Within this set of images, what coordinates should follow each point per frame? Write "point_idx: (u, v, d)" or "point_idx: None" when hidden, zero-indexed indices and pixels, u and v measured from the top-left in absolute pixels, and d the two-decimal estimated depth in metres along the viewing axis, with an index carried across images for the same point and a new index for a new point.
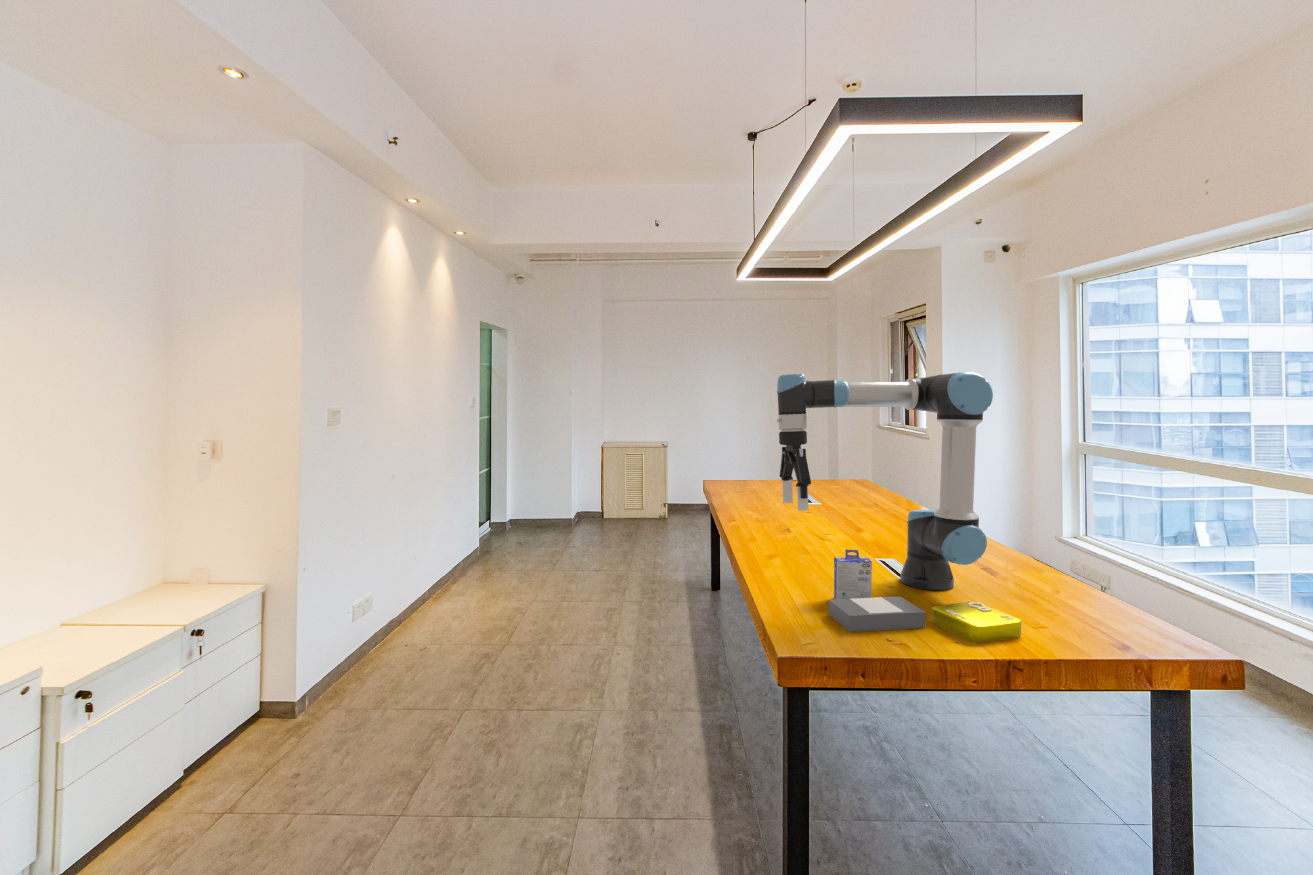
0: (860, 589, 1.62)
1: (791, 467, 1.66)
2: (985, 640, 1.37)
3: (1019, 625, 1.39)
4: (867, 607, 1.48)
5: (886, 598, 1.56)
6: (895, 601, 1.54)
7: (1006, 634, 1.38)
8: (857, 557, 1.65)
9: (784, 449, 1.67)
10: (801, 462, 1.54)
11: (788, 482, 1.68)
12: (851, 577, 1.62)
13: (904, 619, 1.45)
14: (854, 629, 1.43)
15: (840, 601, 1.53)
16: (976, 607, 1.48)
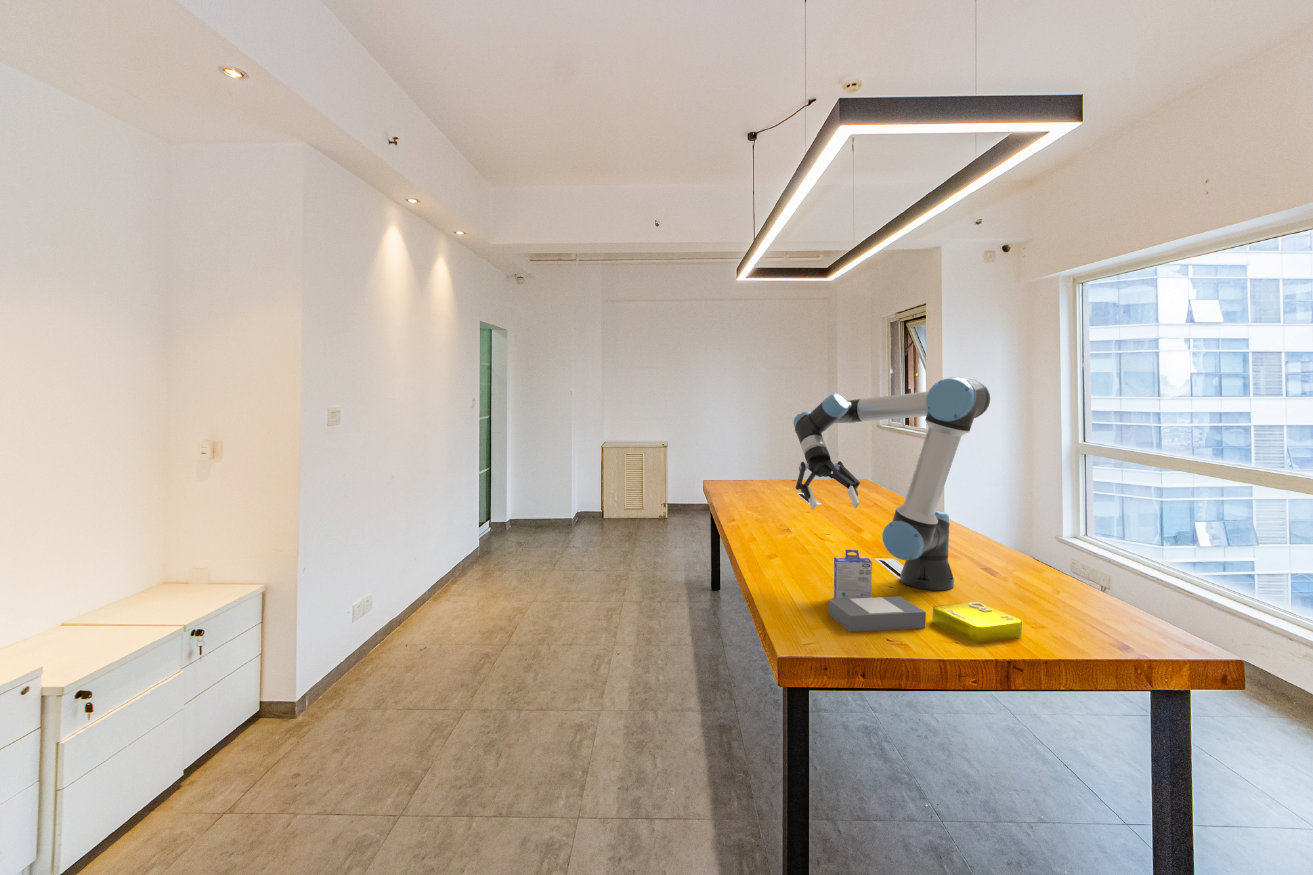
0: (860, 589, 1.62)
1: (838, 477, 1.82)
2: (985, 640, 1.37)
3: (1019, 625, 1.39)
4: (867, 607, 1.48)
5: (886, 598, 1.56)
6: (895, 601, 1.54)
7: (1006, 635, 1.38)
8: (857, 557, 1.65)
9: None
10: (799, 473, 1.83)
11: (849, 489, 1.80)
12: (851, 577, 1.62)
13: (904, 619, 1.45)
14: (854, 629, 1.43)
15: (840, 601, 1.53)
16: (976, 607, 1.48)
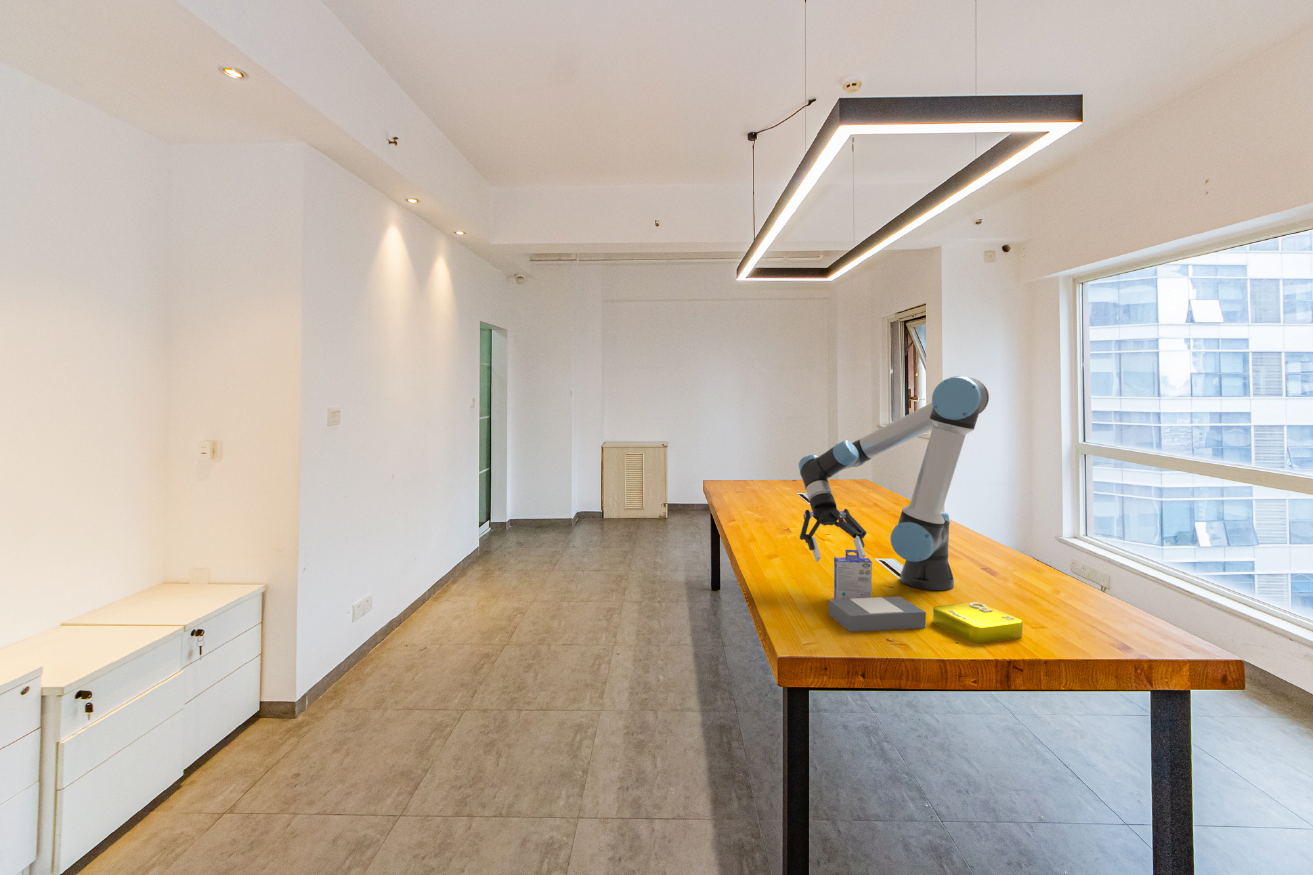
0: (860, 589, 1.62)
1: (844, 526, 1.77)
2: (986, 641, 1.36)
3: (1020, 626, 1.39)
4: (867, 607, 1.48)
5: (886, 598, 1.56)
6: (895, 601, 1.54)
7: (1007, 635, 1.38)
8: (857, 557, 1.65)
9: None
10: None
11: (855, 539, 1.74)
12: (851, 577, 1.62)
13: (904, 619, 1.45)
14: (854, 629, 1.43)
15: (840, 601, 1.53)
16: (977, 607, 1.48)
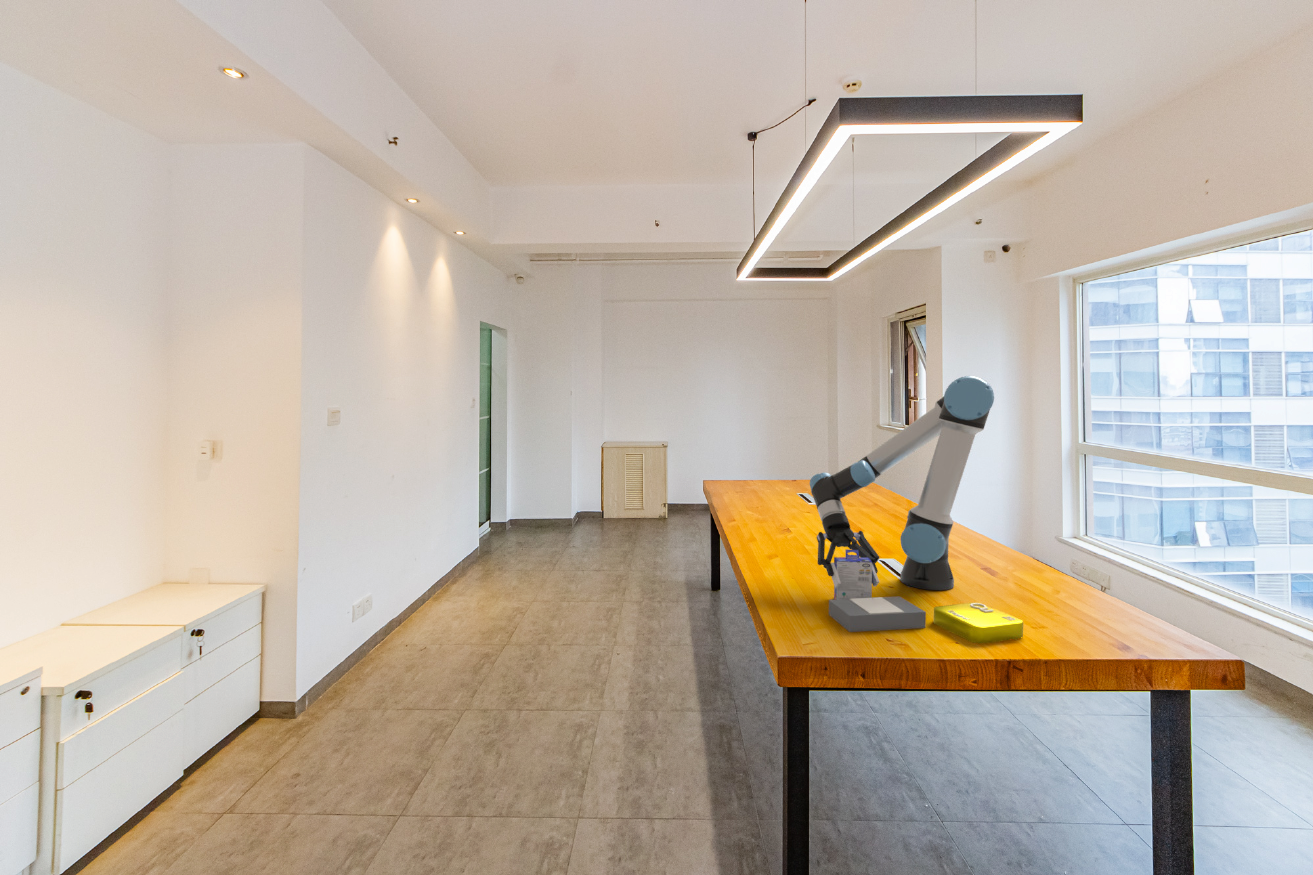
0: (861, 589, 1.62)
1: (856, 549, 1.69)
2: (987, 641, 1.36)
3: (1021, 626, 1.39)
4: (867, 607, 1.48)
5: (886, 598, 1.56)
6: (895, 601, 1.54)
7: (1008, 635, 1.38)
8: (857, 557, 1.65)
9: None
10: (818, 545, 1.70)
11: None
12: (851, 576, 1.62)
13: (904, 619, 1.45)
14: (854, 629, 1.43)
15: (840, 601, 1.53)
16: (978, 608, 1.48)
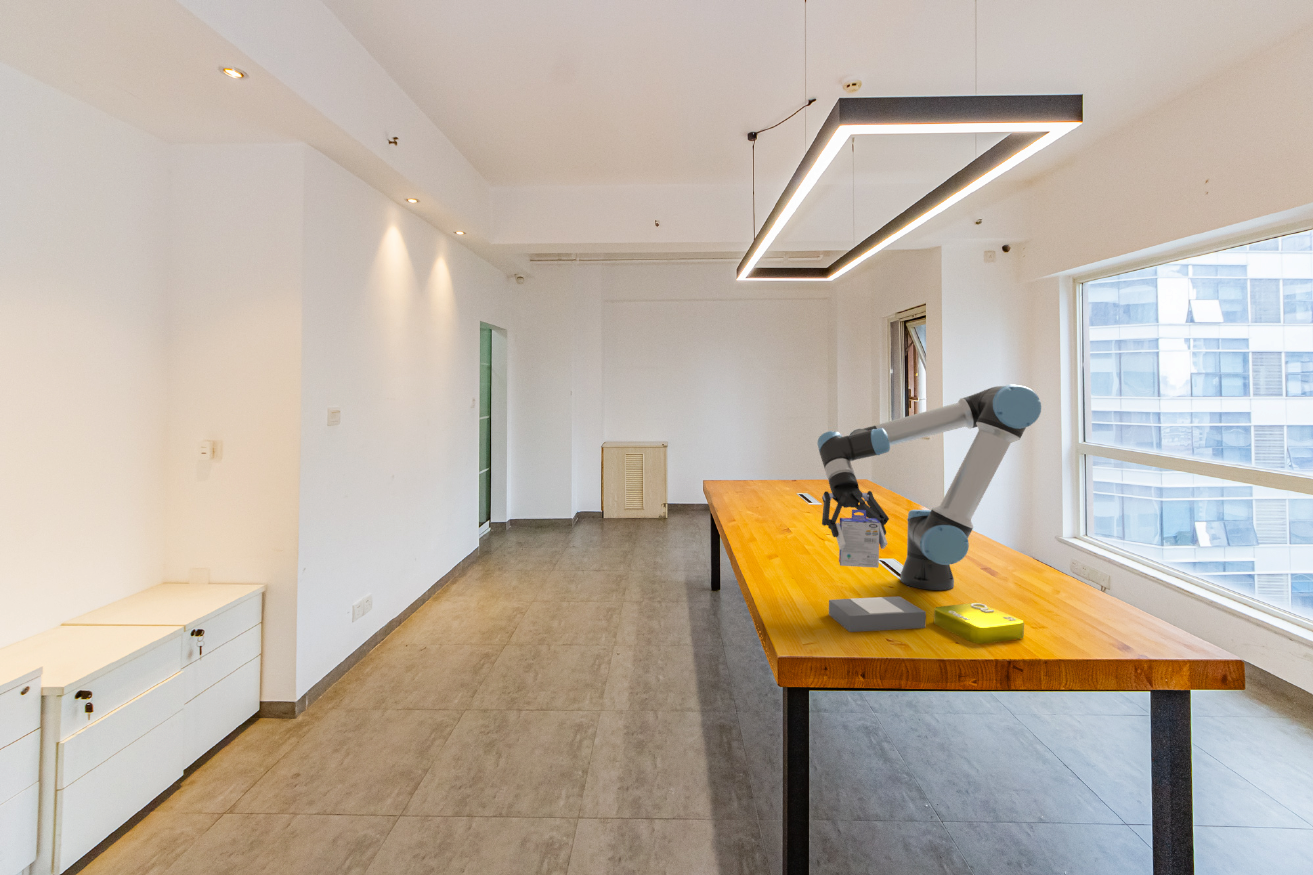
0: (867, 551, 1.52)
1: (864, 509, 1.59)
2: (987, 641, 1.36)
3: (1022, 626, 1.39)
4: (867, 607, 1.48)
5: (886, 598, 1.56)
6: (895, 601, 1.54)
7: (1008, 635, 1.38)
8: (864, 517, 1.55)
9: None
10: (824, 505, 1.60)
11: None
12: (857, 538, 1.53)
13: (904, 619, 1.45)
14: (854, 629, 1.43)
15: (840, 601, 1.53)
16: (978, 608, 1.48)
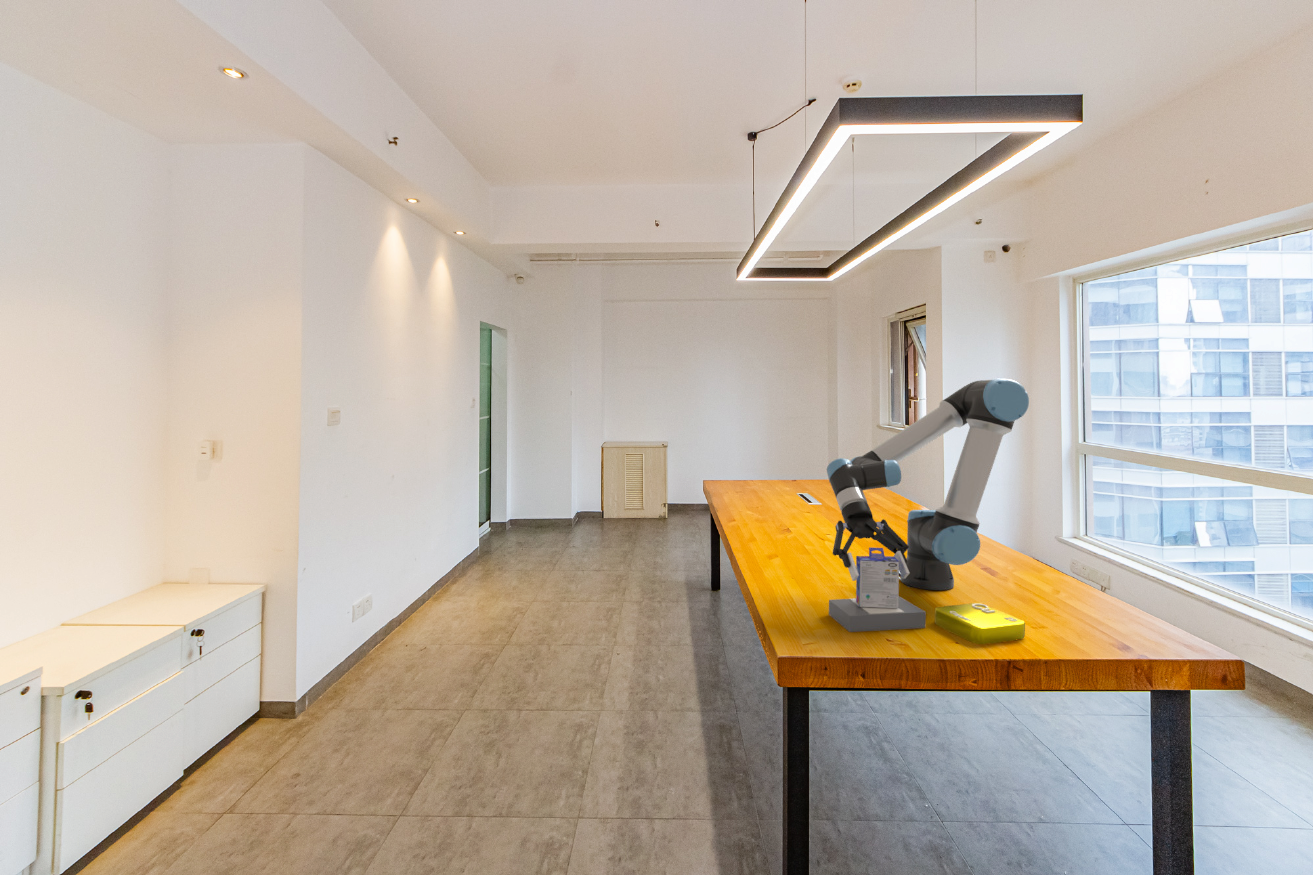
0: (886, 591, 1.47)
1: (882, 539, 1.54)
2: (988, 642, 1.36)
3: (1023, 627, 1.38)
4: (867, 607, 1.48)
5: None
6: None
7: (1009, 636, 1.37)
8: (882, 556, 1.50)
9: None
10: (836, 535, 1.55)
11: (896, 554, 1.52)
12: (876, 577, 1.47)
13: (904, 619, 1.45)
14: (854, 629, 1.43)
15: (840, 601, 1.53)
16: (979, 608, 1.47)
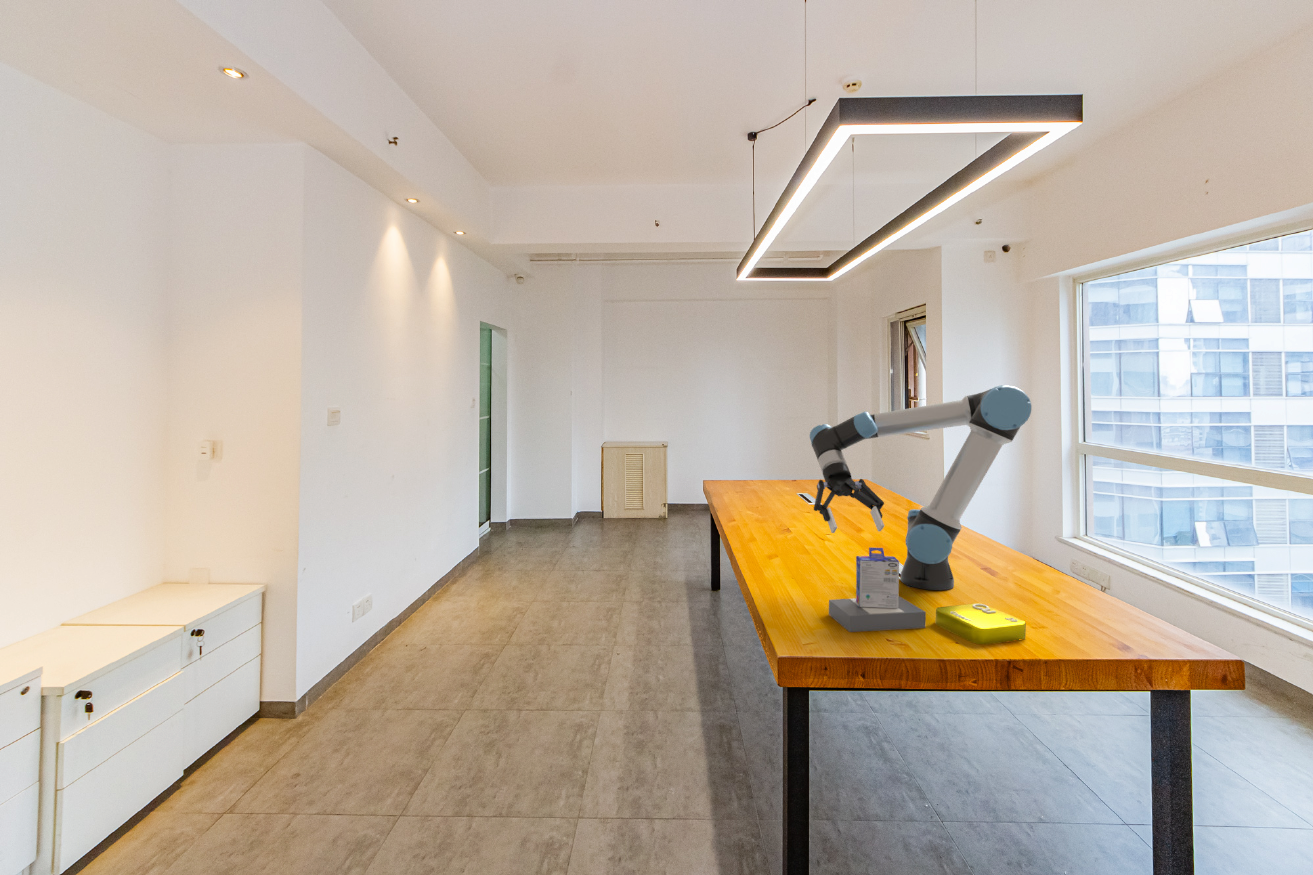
0: (886, 591, 1.47)
1: (860, 496, 1.67)
2: (989, 642, 1.36)
3: (1023, 627, 1.38)
4: (867, 607, 1.48)
5: None
6: None
7: (1010, 636, 1.37)
8: (882, 556, 1.50)
9: None
10: (817, 493, 1.67)
11: (872, 510, 1.64)
12: (876, 577, 1.47)
13: (904, 619, 1.45)
14: (854, 629, 1.43)
15: (840, 601, 1.53)
16: (980, 609, 1.47)
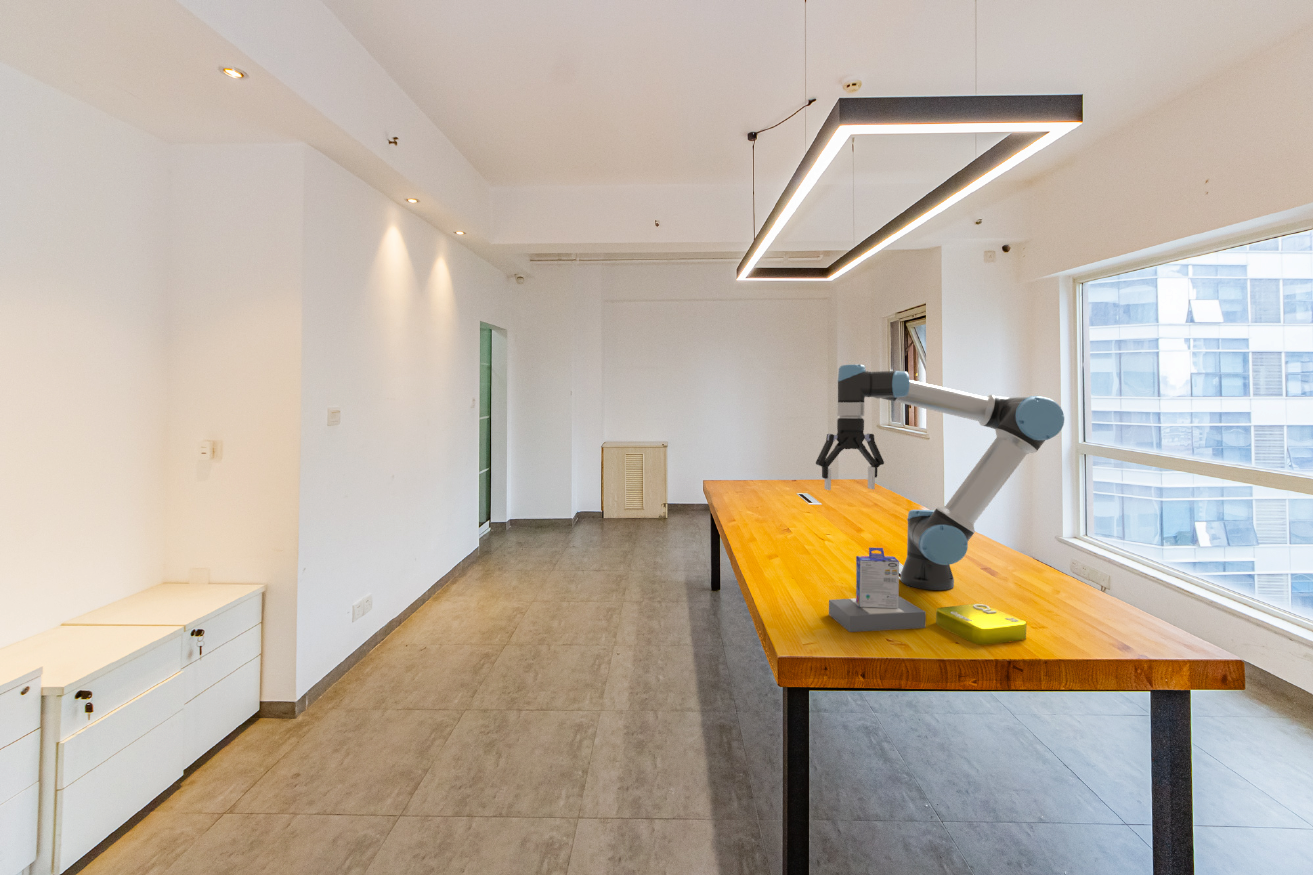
0: (886, 591, 1.47)
1: (864, 453, 1.72)
2: (989, 642, 1.35)
3: (1024, 627, 1.38)
4: (867, 607, 1.48)
5: None
6: None
7: (1011, 636, 1.37)
8: (882, 556, 1.50)
9: None
10: (824, 445, 1.72)
11: (870, 468, 1.73)
12: (876, 577, 1.47)
13: (904, 619, 1.45)
14: (854, 629, 1.43)
15: (840, 601, 1.53)
16: (981, 609, 1.47)
